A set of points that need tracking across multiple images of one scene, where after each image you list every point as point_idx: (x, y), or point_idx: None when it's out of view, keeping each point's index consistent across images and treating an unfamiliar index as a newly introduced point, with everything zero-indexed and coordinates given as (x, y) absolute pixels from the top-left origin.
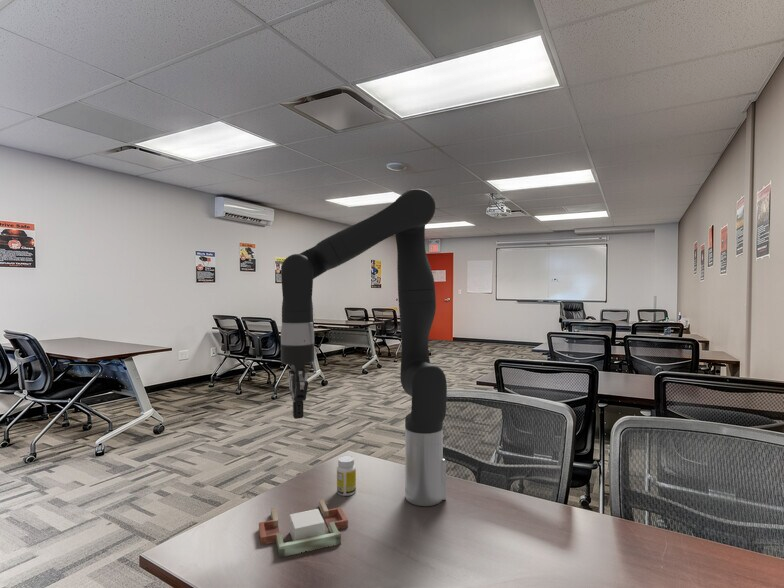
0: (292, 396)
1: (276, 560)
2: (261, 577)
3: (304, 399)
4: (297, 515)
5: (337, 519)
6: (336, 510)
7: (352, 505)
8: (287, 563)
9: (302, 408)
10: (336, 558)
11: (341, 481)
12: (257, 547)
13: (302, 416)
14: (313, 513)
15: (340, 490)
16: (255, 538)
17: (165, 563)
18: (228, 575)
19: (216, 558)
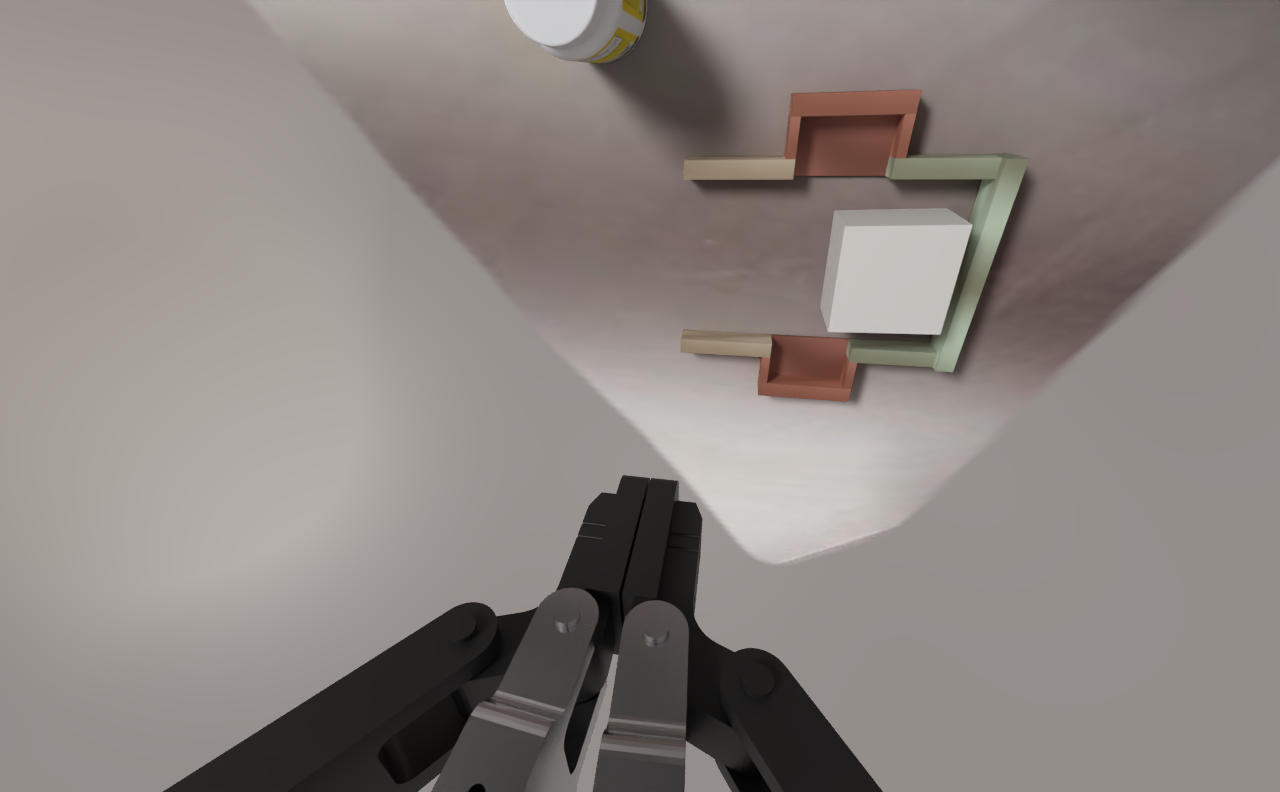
0: (597, 711)
1: None
2: (1000, 409)
3: (789, 681)
4: (851, 309)
5: (836, 123)
6: (800, 120)
7: (742, 12)
8: (987, 342)
9: (666, 543)
10: (1086, 193)
11: (620, 43)
12: (850, 398)
13: (676, 487)
14: (872, 251)
15: (626, 51)
16: None
17: (801, 551)
18: (933, 466)
19: (842, 479)
